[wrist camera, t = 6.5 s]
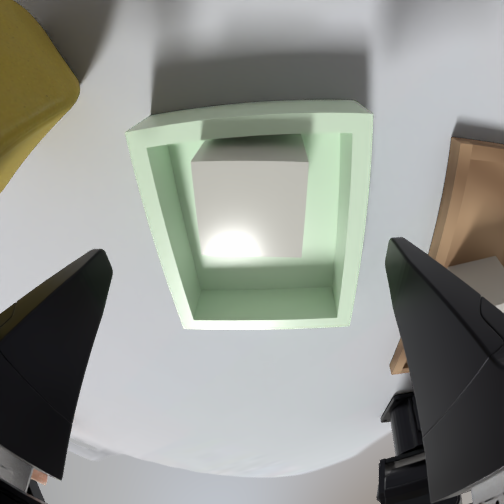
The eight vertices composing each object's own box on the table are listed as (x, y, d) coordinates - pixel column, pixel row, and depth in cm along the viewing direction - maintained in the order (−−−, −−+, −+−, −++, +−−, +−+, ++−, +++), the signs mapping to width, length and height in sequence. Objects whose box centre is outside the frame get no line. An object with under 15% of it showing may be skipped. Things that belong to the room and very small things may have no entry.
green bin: (342, 290, 20) (349, 326, 17) (193, 294, 21) (183, 329, 18) (354, 100, 13) (373, 113, 10) (150, 115, 14) (124, 132, 11)
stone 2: (296, 208, 16) (301, 257, 13) (217, 207, 16) (201, 254, 13) (300, 131, 13) (308, 162, 10) (211, 131, 14) (190, 161, 11)
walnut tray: (460, 354, 24) (463, 362, 23) (389, 365, 25) (391, 374, 24) (541, 151, 12) (551, 158, 11) (451, 136, 13) (460, 143, 12)
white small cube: (484, 297, 19) (505, 338, 16) (440, 309, 20) (457, 353, 16) (495, 255, 17) (522, 296, 13) (447, 266, 17) (472, 312, 14)
